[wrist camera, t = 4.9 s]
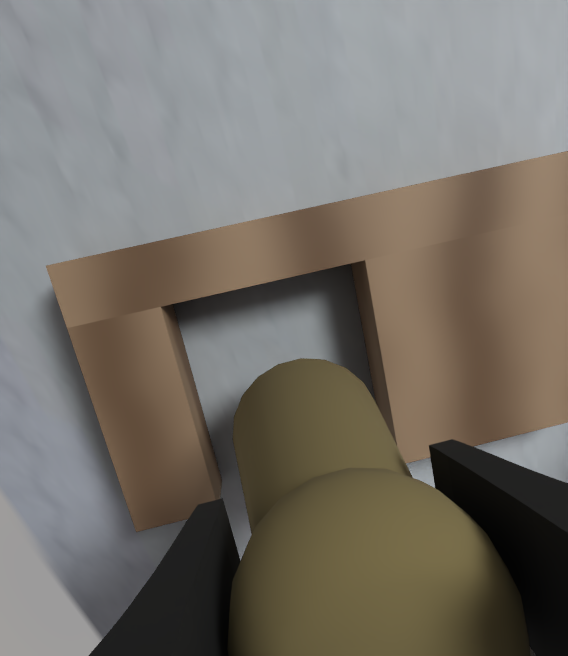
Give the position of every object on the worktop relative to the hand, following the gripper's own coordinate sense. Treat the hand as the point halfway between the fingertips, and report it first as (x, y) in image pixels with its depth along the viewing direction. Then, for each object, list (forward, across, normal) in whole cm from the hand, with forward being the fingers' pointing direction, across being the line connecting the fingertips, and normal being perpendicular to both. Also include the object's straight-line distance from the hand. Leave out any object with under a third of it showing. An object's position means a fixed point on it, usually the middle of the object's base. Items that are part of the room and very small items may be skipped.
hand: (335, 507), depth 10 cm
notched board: (+10, -3, -1) cm, 11 cm away
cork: (+7, 0, +1) cm, 7 cm away
